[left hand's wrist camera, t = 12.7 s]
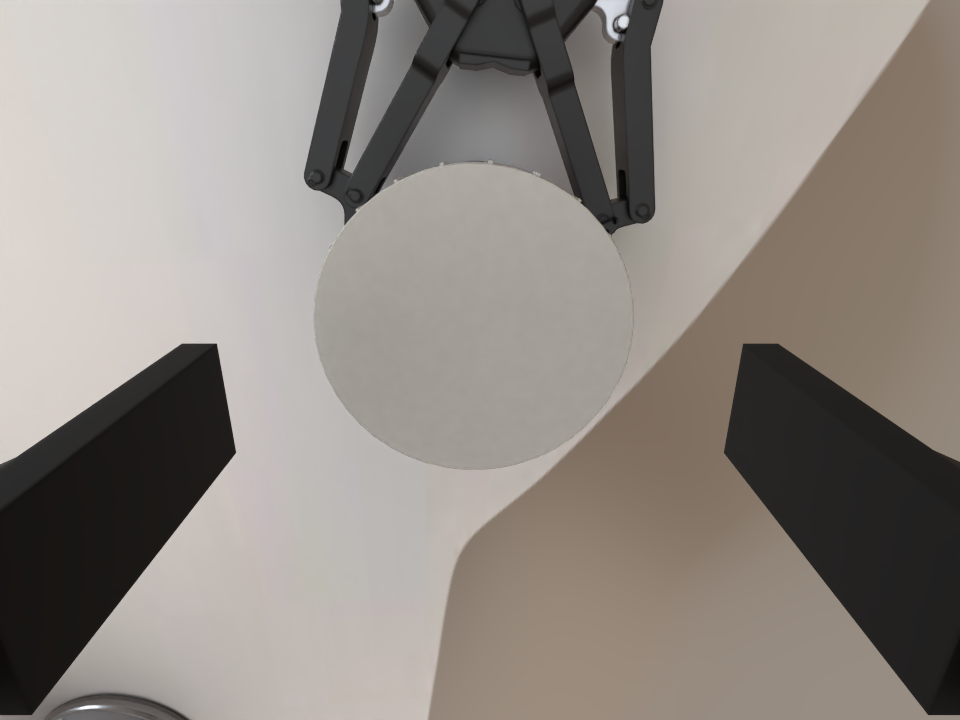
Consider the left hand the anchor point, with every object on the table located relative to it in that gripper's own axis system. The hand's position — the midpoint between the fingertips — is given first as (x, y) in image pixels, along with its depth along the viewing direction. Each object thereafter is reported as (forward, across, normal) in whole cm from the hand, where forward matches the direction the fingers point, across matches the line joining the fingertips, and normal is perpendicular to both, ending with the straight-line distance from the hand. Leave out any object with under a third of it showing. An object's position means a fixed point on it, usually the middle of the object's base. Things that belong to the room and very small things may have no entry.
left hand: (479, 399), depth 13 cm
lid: (+6, 0, 0) cm, 6 cm away
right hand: (+17, -1, -5) cm, 18 cm away
